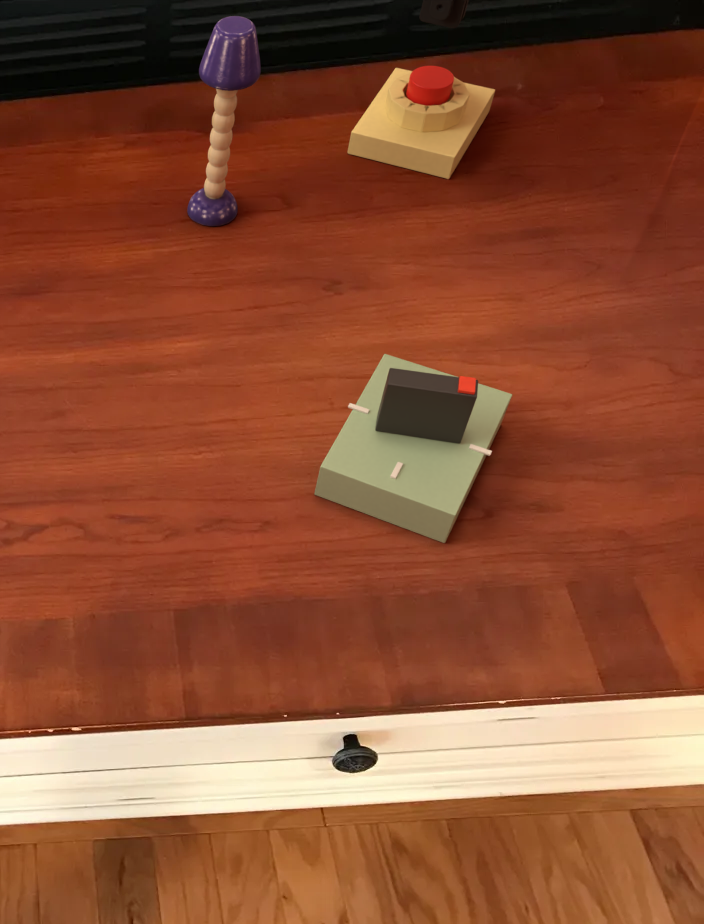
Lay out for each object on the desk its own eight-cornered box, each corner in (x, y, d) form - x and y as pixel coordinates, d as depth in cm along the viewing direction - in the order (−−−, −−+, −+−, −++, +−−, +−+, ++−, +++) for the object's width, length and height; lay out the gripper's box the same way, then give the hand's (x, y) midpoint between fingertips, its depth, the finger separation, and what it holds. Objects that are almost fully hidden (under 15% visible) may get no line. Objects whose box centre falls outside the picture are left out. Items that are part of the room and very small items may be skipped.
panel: (372, 381, 84) (380, 349, 82) (506, 425, 81) (518, 393, 78) (309, 492, 79) (315, 462, 76) (450, 545, 75) (461, 516, 72)
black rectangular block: (374, 431, 77) (388, 381, 74) (377, 414, 78) (390, 364, 75) (460, 444, 76) (478, 394, 72) (461, 426, 77) (479, 376, 73)
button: (414, 80, 100) (418, 61, 99) (455, 89, 99) (460, 70, 98) (399, 101, 99) (404, 83, 97) (441, 111, 97) (446, 92, 96)
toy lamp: (225, 188, 100) (242, 1, 86) (255, 216, 97) (278, 28, 84) (177, 206, 99) (187, 21, 85) (207, 236, 96) (222, 49, 83)
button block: (391, 89, 106) (399, 48, 103) (489, 111, 103) (501, 70, 100) (347, 153, 101) (354, 113, 98) (448, 179, 97) (460, 138, 94)
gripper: (484, -280, 84) (426, -32, 99) (414, -199, 77) (363, 55, 92) (590, -268, 81) (514, -14, 96) (528, -182, 74) (456, 77, 89)
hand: (441, 19), depth 94 cm, fingers closed
